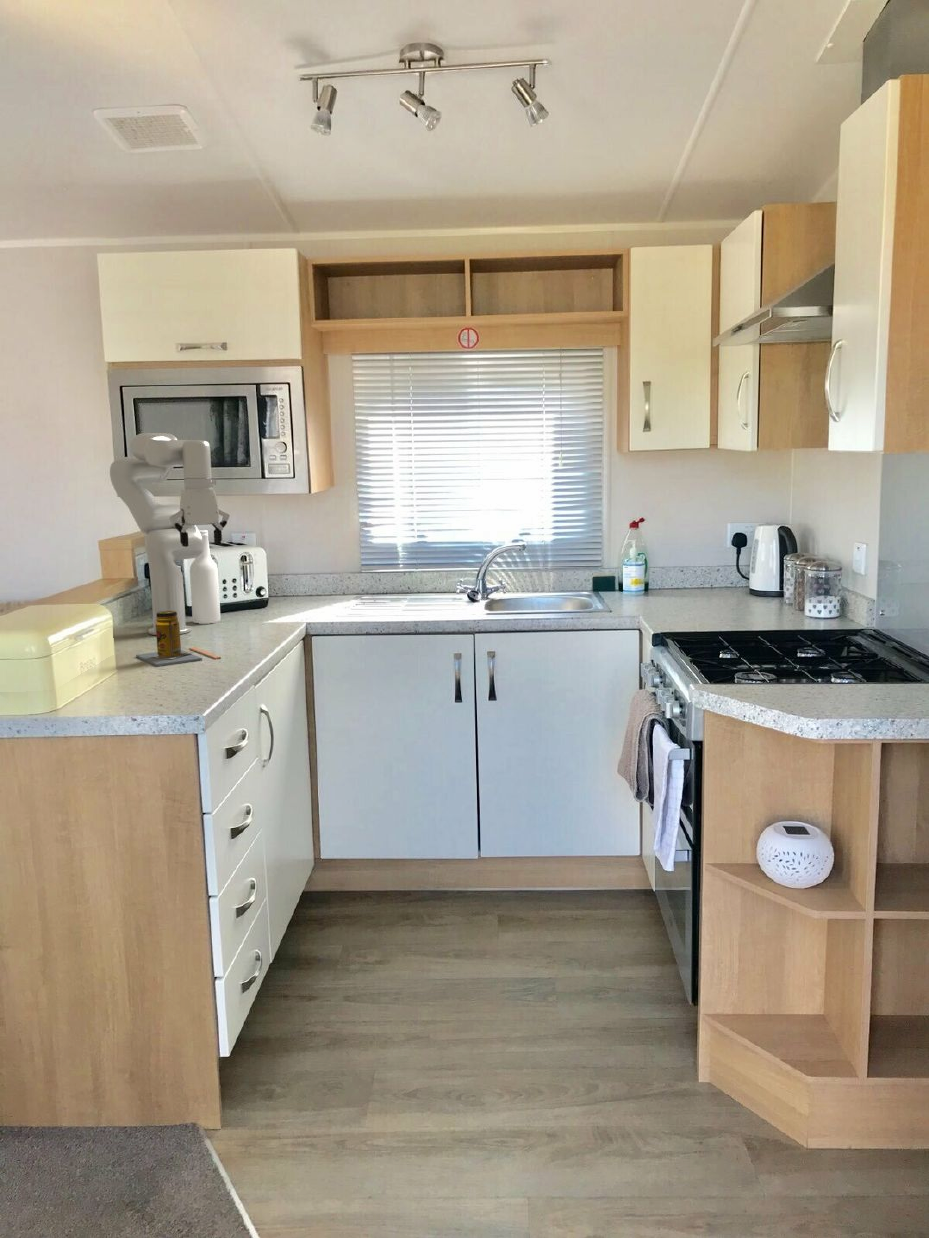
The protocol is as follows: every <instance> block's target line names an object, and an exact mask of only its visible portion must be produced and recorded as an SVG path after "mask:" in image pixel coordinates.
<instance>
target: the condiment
mask: <svg viewBox="0 0 929 1238" xmlns="http://www.w3.org/2000/svg"><path fill="white" fill-rule="evenodd" d="M177 619H178V617H177V612H176V611H162V612H158V613H157V622H156V635H155V636H156V645H157V646H156V649H157V651H156V652H158V655H157V656H154V657H156V658H164V659H173V658H177V657H181V656H184V655H188V654H192V652H188V653H185V652H186V651H185V652H181V650H182V645H181V634H180V627H179V622H178V620H177Z"/></svg>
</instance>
